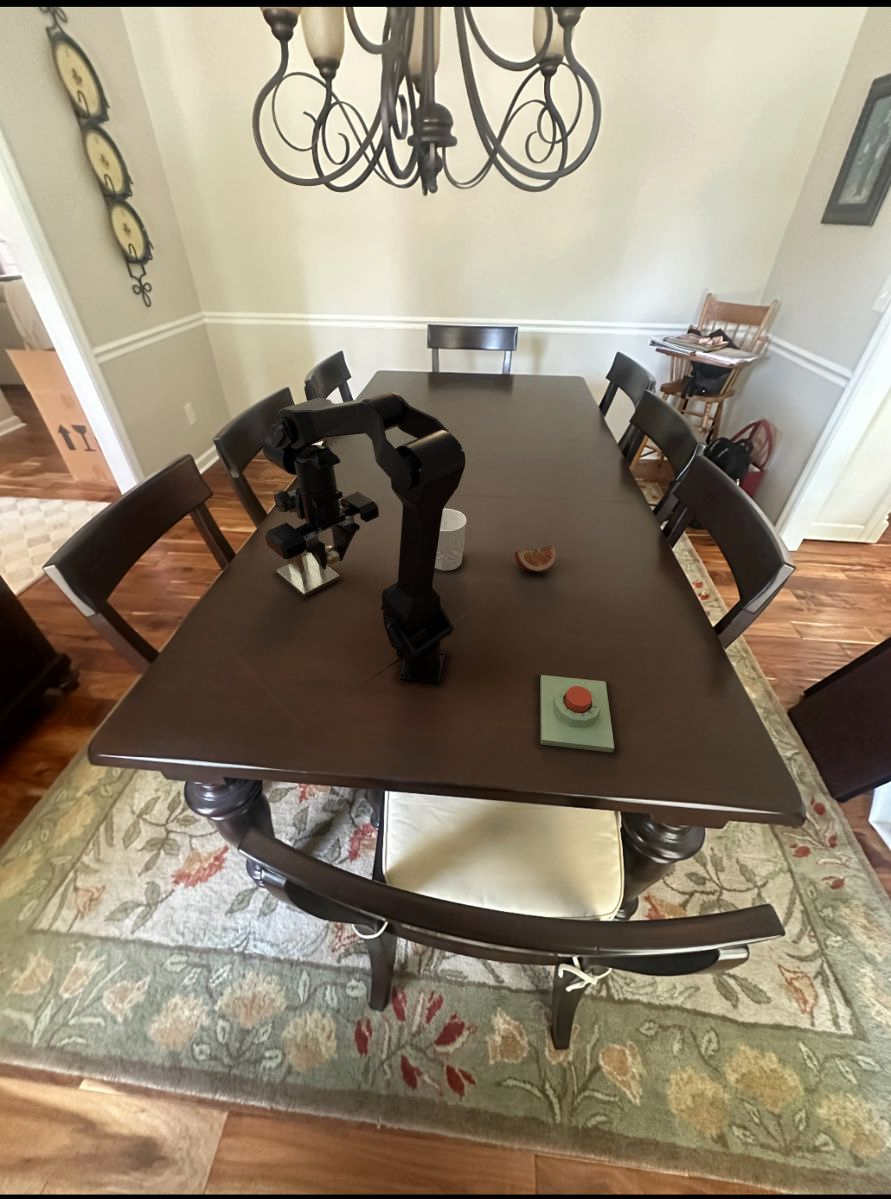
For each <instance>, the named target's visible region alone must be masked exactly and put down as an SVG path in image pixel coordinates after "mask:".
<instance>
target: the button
mask: <svg viewBox="0 0 891 1199" xmlns="http://www.w3.org/2000/svg"><path fill="white" fill-rule="evenodd" d="M591 701H592V696H591V693H590V692H589V691H588V690H587V689H585V688H583V687H580V686H573V687H571V688H569V689H568V691H567V693H566V697H565V705H566V706H567V708H568V709H569V710H571V711H573V712H575V713H584V712H586V711H587V710H588V709H589V707H590V704H591Z"/></svg>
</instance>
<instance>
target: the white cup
mask: <svg viewBox="0 0 891 1199" xmlns="http://www.w3.org/2000/svg"><path fill="white" fill-rule="evenodd" d="M466 517H467V516H466V515H465V514H464V513H463V512H461V511H459V510H456V509H452V508H444V509H443V513H442V520H441V527H440V534H439V541H438V548H437V555H436V563H435V569H436V570H439V571H443V572H445V571H446V572H448V571H452V570H453V571H454V570H456V569H458V568H459V567H460V566H461V565H462V562H463V556H464V550H465V541H466V532H467V531H466V530H467V518H466Z"/></svg>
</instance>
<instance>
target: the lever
mask: <svg viewBox="0 0 891 1199" xmlns="http://www.w3.org/2000/svg"><path fill="white" fill-rule="evenodd" d="M325 552H326V565H334V564H336V563H337V562H339V561H338V559H339V551H338V550H337V549H336V548H335V547H334V545H325Z"/></svg>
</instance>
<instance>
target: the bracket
mask: <svg viewBox="0 0 891 1199" xmlns="http://www.w3.org/2000/svg"><path fill="white" fill-rule="evenodd" d="M303 524H304V523H303ZM303 524H301V525H303ZM304 552H305V555H304V556H303V554H302V553H301V554H299V555H297V556H295V557H293V558H291V559H286V561H287V564H286V565H283V566H282V567H279V568H277V569H276V575H277V576H278V577H279V578H281V579H282V580H284V581H285V582H286V583H287V585H289V586H290V587H291V588H292V589H294V590H295V591H297V593H299V594H300V595H301V596H303V598H308V597H309V596H311V595H313V594H315V593H316V592H318V591H320V590H322V589H325V588H326V587H328V586H329V585H331V584H333V583H335V582H337V581H339V580H341V577H340V574H339V573H337V572H336V571H335V570H333V569H332V568H331V567H329V566H328V564H326V569H325V570H323V569H322V568H321V567H320V566H319V564H318V563H317V561H316V560H315V558H314V557H313V555H312V554H311V553H309V552H307V551H306V550H305V551H304Z"/></svg>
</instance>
